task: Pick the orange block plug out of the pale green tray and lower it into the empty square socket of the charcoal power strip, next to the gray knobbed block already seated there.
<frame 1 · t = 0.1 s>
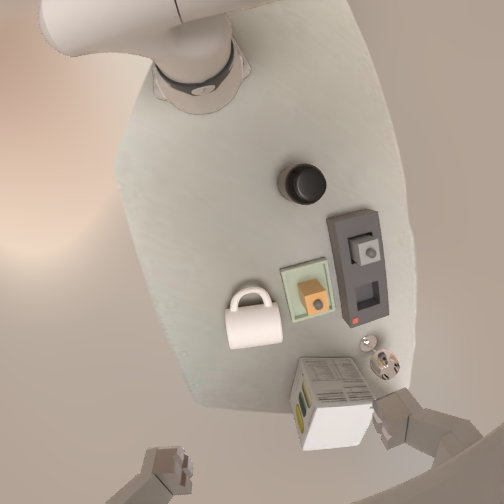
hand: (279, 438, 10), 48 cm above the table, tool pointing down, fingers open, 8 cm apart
mug: (251, 307, 61), on the table
supplement box: (319, 378, 66), on the table
wineglass: (368, 342, 65), on the table
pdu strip: (355, 265, 60), on the table
supplement bottle: (294, 183, 56), on the table
plug: (308, 289, 60), point 1 cm above the table, touching tray
gray knobbed block: (354, 244, 57), point 1 cm above the table, touching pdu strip
tray: (307, 288, 60), on the table
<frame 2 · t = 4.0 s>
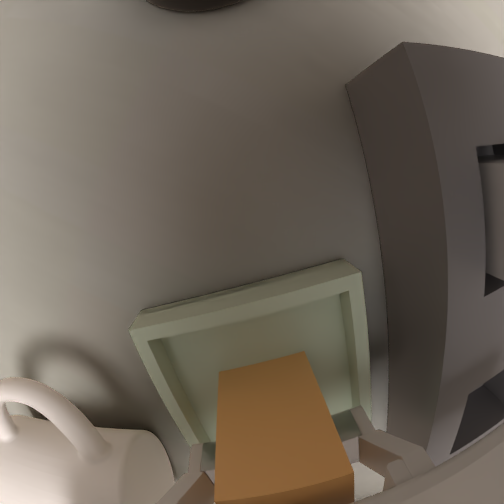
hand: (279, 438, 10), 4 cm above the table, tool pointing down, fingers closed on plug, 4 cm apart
mug: (85, 419, 15), on the table
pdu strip: (454, 289, 14), on the table
plug: (270, 393, 13), point 1 cm above the table, touching gripper, tray
gray knobbed block: (468, 201, 11), point 1 cm above the table, touching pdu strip
tray: (269, 386, 14), on the table
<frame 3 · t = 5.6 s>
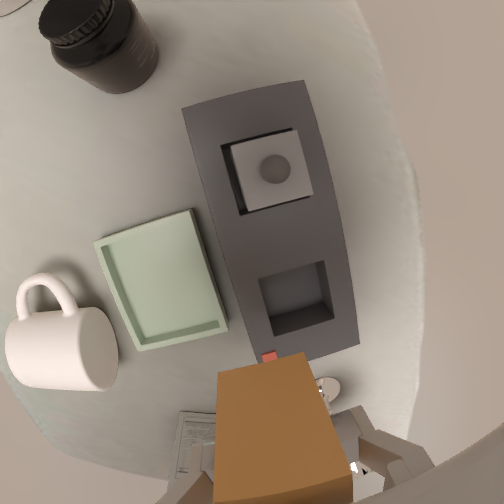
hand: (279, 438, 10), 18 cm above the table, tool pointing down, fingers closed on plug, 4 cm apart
mug: (71, 314, 28), on the table
supplement box: (230, 444, 33), on the table
wineglass: (321, 390, 32), on the table
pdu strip: (274, 227, 27), on the table
supplement bottle: (125, 63, 22), on the table
plug: (270, 394, 14), point 15 cm above the table, touching gripper
gray knobbed block: (261, 171, 24), point 1 cm above the table, touching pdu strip
tray: (163, 280, 27), on the table
when the fingers open (6 cm above the table, at t = 7.6 s): plug drops 1 cm, resting on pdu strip.
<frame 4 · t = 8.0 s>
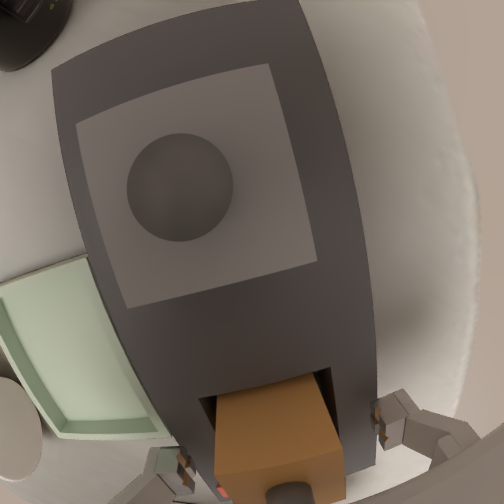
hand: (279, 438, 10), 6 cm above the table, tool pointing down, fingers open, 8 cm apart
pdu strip: (242, 284, 15), on the table
supplement bottle: (32, 28, 11), on the table
plug: (267, 381, 15), point 1 cm above the table, touching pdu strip
gray knobbed block: (213, 183, 12), point 1 cm above the table, touching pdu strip
tray: (77, 354, 15), on the table
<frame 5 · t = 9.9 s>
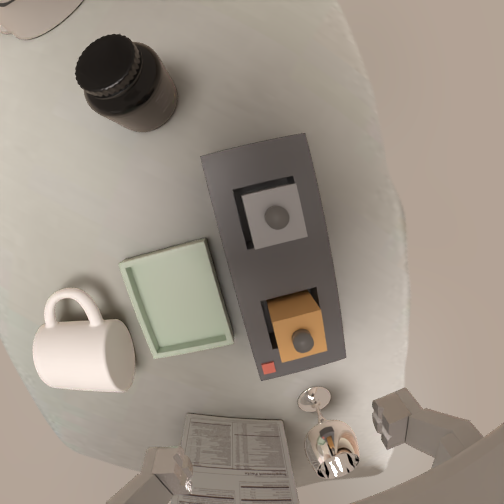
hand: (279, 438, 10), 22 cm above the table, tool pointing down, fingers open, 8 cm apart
mug: (93, 324, 32), on the table
supplement box: (230, 445, 37), on the table
wineglass: (314, 398, 36), on the table
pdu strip: (275, 256, 31), on the table
supplement bottle: (148, 103, 27), on the table
plug: (287, 305, 31), point 1 cm above the table, touching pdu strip
gray knobbed block: (266, 209, 29), point 1 cm above the table, touching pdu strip
tray: (179, 298, 32), on the table
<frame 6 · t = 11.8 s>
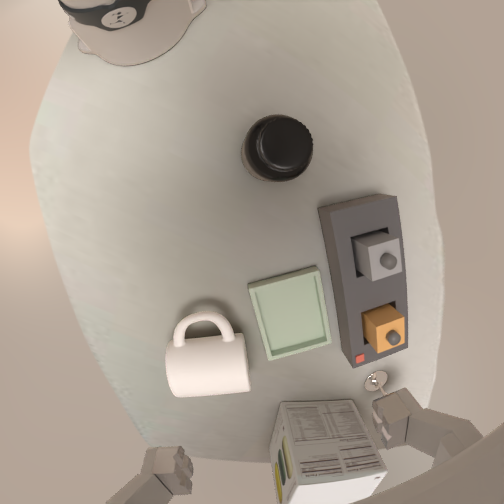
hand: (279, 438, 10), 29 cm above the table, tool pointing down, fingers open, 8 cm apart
mug: (208, 338, 41), on the table
supplement box: (308, 425, 47), on the table
wineglass: (375, 380, 45), on the table
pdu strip: (361, 277, 40), on the table
supplement bottle: (268, 154, 36), on the table
plug: (369, 313, 40), point 1 cm above the table, touching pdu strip
gray knobbed block: (361, 246, 38), point 1 cm above the table, touching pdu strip
tray: (290, 312, 41), on the table
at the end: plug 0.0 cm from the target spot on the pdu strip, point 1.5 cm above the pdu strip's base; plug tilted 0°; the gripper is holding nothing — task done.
